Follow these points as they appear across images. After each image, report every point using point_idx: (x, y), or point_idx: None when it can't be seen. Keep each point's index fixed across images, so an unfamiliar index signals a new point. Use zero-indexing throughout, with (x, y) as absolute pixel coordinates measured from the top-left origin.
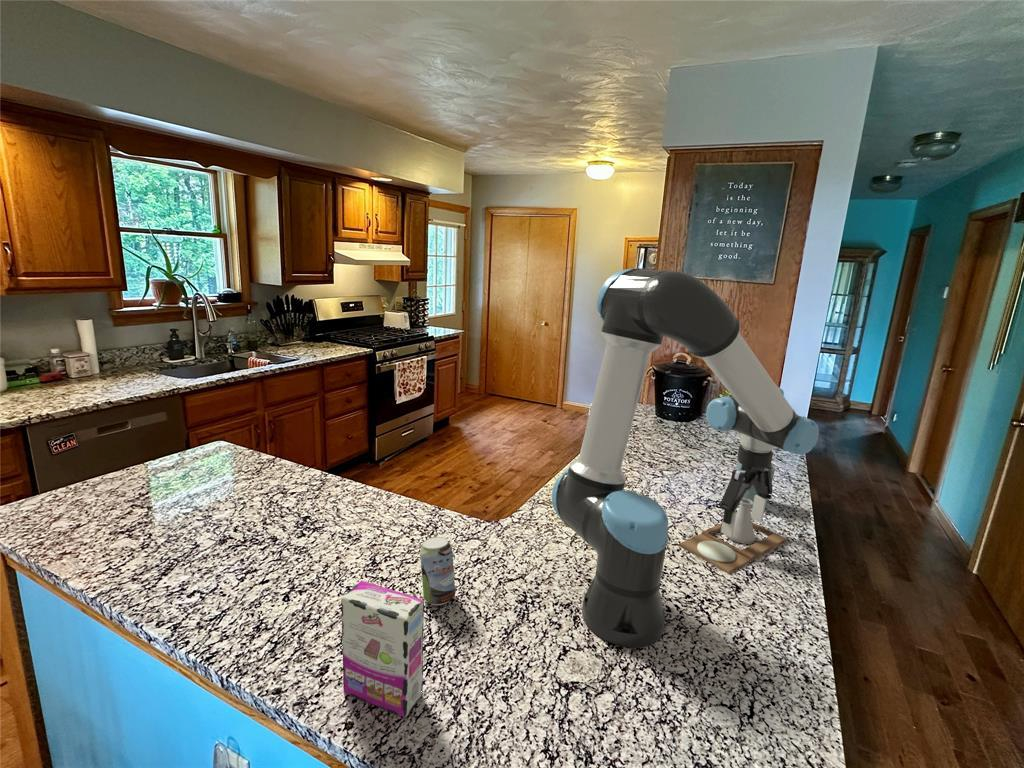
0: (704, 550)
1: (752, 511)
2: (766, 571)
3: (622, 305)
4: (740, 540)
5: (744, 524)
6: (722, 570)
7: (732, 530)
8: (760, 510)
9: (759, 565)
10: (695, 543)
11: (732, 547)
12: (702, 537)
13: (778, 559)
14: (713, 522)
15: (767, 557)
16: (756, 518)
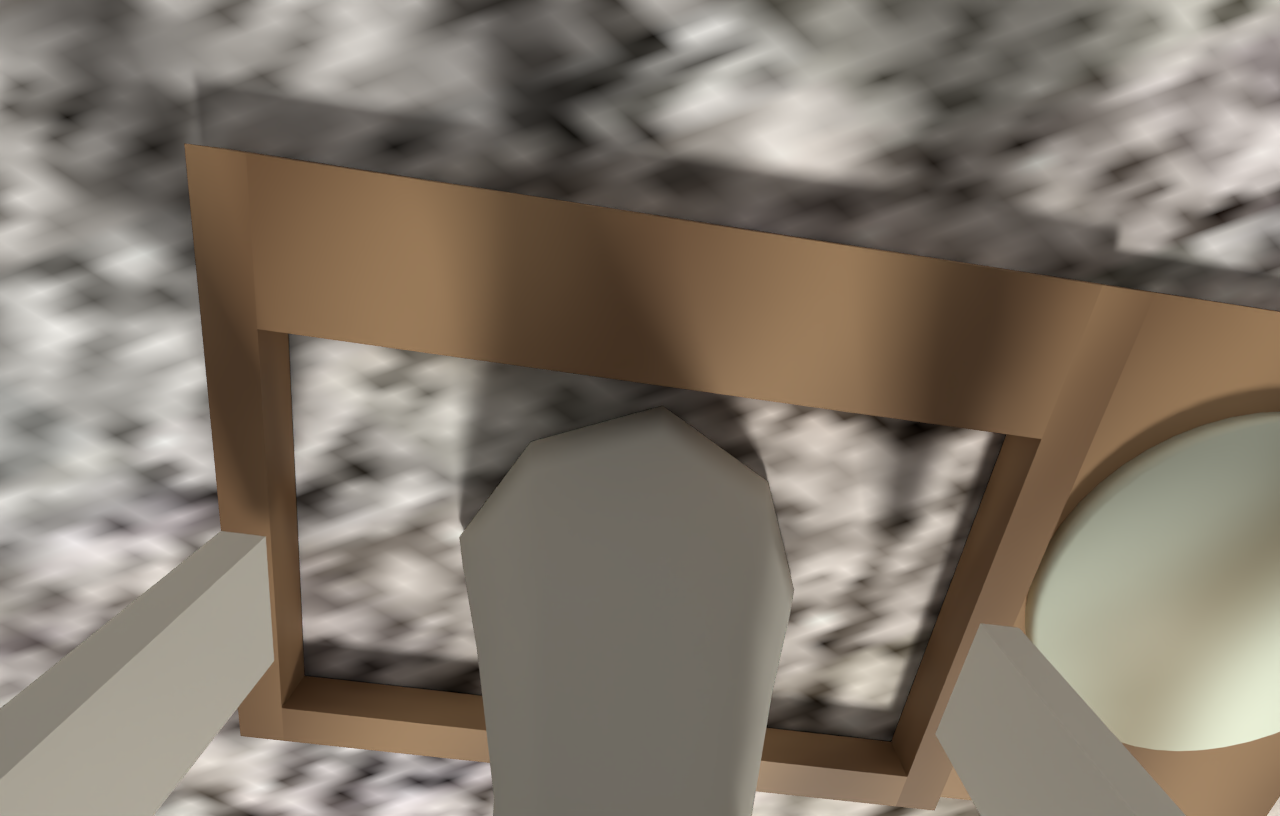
0: None
1: (194, 749)
2: (1223, 55)
3: None
4: (774, 527)
5: (742, 669)
6: None
7: (1078, 702)
8: (114, 715)
9: (1124, 176)
10: (1159, 757)
11: (1040, 523)
12: None
13: (793, 52)
14: None
15: (850, 177)
16: (247, 620)
